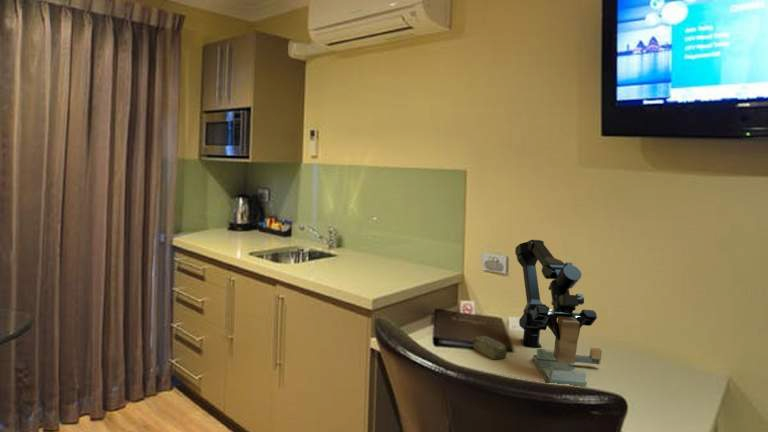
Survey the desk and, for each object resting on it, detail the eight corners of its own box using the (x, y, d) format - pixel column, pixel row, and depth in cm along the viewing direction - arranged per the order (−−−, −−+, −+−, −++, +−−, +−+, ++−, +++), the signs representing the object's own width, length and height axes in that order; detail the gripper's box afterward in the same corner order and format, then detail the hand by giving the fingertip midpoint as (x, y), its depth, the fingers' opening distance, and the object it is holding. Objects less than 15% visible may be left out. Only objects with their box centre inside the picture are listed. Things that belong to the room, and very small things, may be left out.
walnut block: (553, 355, 156) (558, 316, 155) (569, 357, 156) (574, 317, 154) (558, 362, 151) (563, 321, 150) (574, 363, 151) (579, 322, 149)
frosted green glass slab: (532, 359, 168) (534, 346, 168) (565, 362, 168) (566, 349, 167) (549, 384, 149) (550, 369, 148) (586, 387, 148) (587, 373, 148)
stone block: (494, 361, 164) (496, 347, 163) (471, 349, 173) (472, 335, 173) (507, 359, 167) (508, 345, 166) (483, 347, 176) (485, 334, 176)
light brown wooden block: (536, 356, 166) (537, 342, 165) (597, 361, 165) (599, 348, 165) (537, 358, 164) (539, 345, 163) (600, 364, 163) (601, 350, 163)
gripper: (538, 280, 155) (544, 326, 145) (598, 285, 155) (608, 331, 145) (529, 298, 164) (534, 342, 154) (586, 303, 163) (594, 347, 153)
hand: (567, 340), depth 151 cm, fingers closed on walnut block, 5 cm apart
